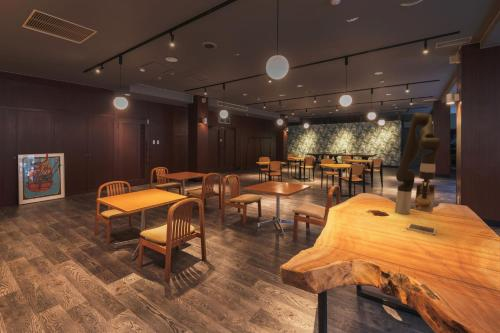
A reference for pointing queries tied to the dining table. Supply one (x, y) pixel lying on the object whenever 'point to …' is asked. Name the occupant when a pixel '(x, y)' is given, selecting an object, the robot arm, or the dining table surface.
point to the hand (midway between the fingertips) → (424, 197)
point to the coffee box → (427, 203)
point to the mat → (421, 229)
